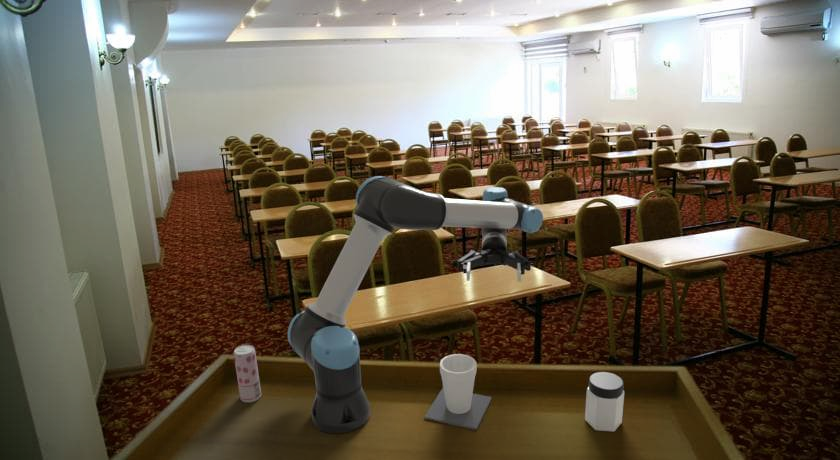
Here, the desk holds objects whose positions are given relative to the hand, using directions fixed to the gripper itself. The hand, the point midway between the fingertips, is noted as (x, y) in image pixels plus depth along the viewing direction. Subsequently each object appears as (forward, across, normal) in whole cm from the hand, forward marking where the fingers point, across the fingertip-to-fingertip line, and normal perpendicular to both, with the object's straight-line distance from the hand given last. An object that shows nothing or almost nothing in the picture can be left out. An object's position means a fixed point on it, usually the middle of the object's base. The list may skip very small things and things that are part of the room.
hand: (493, 276), depth 162 cm
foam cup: (+14, +9, -32) cm, 36 cm away
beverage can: (+13, +66, -32) cm, 75 cm away
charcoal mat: (+14, +9, -32) cm, 36 cm away
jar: (+17, -28, -32) cm, 46 cm away
